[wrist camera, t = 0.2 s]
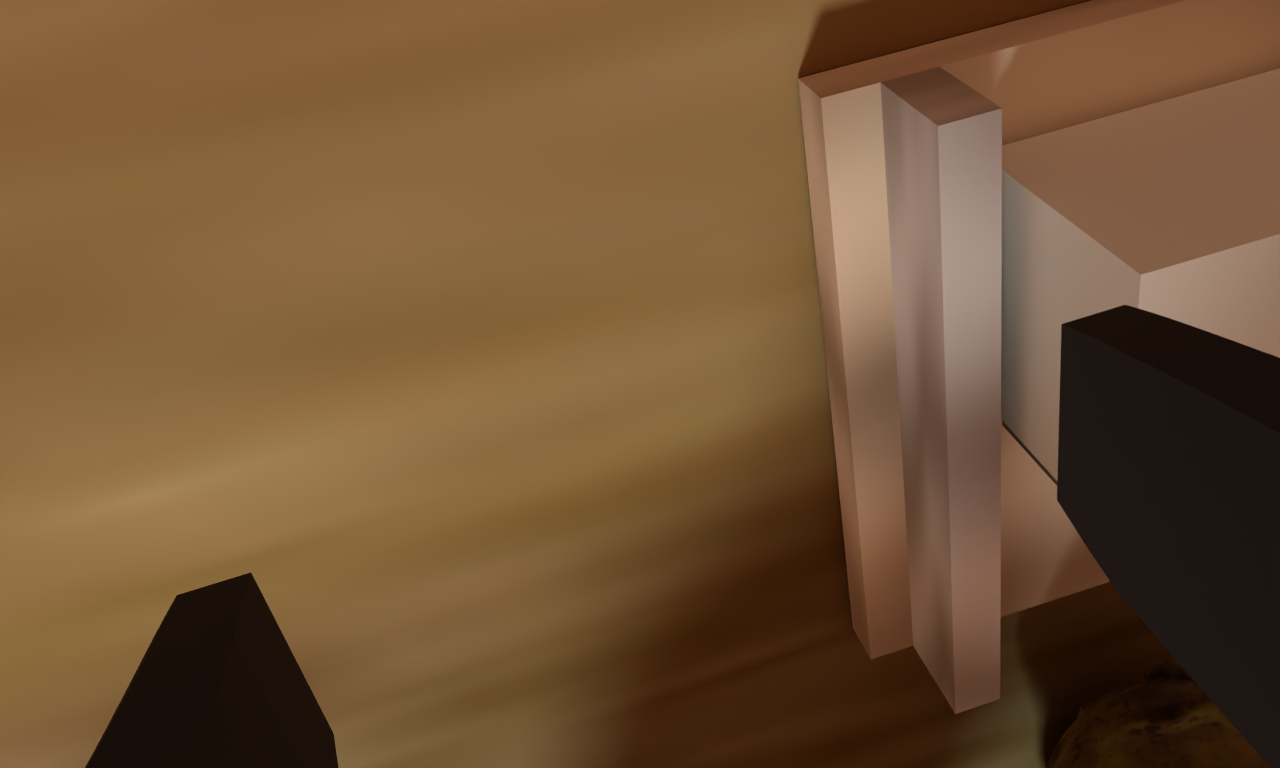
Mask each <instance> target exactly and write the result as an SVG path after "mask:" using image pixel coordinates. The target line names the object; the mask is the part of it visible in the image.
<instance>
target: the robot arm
mask: <svg viewBox="0 0 1280 768" xmlns="http://www.w3.org/2000/svg"><path fill="white" fill-rule="evenodd" d="M1057 501H1058V502H1059V504H1060V506H1061V507H1062V509H1063V510H1064V512H1065V513H1066V515H1067V517H1068V518H1069V520H1070V521H1071V523H1072V524H1073V526H1074V528H1075V529H1076V531H1077V532H1078V534H1079V536H1080V537H1081V539H1082V540H1083V542H1084V543H1085V545H1086V547H1087V548H1088V550H1089V551H1090V553H1091V554H1092V556H1093V557H1094V558H1095V560H1096V561H1097V563H1098V564H1099V566H1100V567H1101V569H1102V570H1103V572H1104V573H1105V575H1106V576H1107V577H1108V579H1109V580H1110V582H1111V583H1112V585H1113V586H1114V588H1115V589H1116V591H1117V592H1118V593H1119V594H1120V595H1121V596H1122V598H1123V599H1124V600H1125V601H1126V602H1127V604H1128V605H1129V606H1130V607H1131V608H1132V610H1133V611H1134V612H1135V613H1136V614H1137V615H1138V617H1139V618H1140V619H1141V620H1142V621H1143V622H1144V624H1145V625H1146V626H1147V627H1148V628H1149V629H1150V631H1151V632H1152V633H1153V634H1154V635H1155V636H1156V637H1157V639H1158V640H1159V641H1160V642H1161V643H1162V644H1163V646H1164V647H1165V648H1166V649H1167V650H1168V651H1169V653H1170V654H1171V655H1172V656H1173V657H1174V658H1175V659H1176V661H1177V662H1178V663H1179V664H1180V665H1181V666H1182V667H1183V669H1184V670H1185V671H1186V672H1187V673H1188V674H1189V675H1190V677H1191V678H1192V679H1193V680H1194V681H1195V682H1196V683H1197V684H1198V686H1199V687H1200V688H1201V689H1202V690H1203V691H1204V692H1205V694H1206V695H1207V696H1208V697H1209V698H1210V699H1211V700H1212V702H1213V703H1214V704H1215V705H1216V706H1217V707H1218V708H1219V709H1220V711H1221V712H1222V713H1223V714H1224V715H1225V716H1226V717H1227V719H1228V720H1229V721H1230V722H1231V723H1232V724H1233V725H1234V727H1235V728H1236V729H1237V730H1238V731H1239V732H1240V733H1241V735H1242V736H1243V737H1244V738H1245V739H1246V740H1247V741H1248V742H1249V744H1250V745H1251V746H1252V747H1253V748H1254V749H1255V750H1256V752H1257V753H1258V754H1259V755H1260V756H1261V757H1262V758H1263V760H1264V761H1265V762H1266V763H1267V764H1268V765H1269V766H1270V768H1280V358H1279V357H1276V356H1274V355H1271V354H1268V353H1265V352H1263V351H1260V350H1257V349H1254V348H1252V347H1249V346H1246V345H1243V344H1241V343H1238V342H1235V341H1232V340H1230V339H1227V338H1224V337H1221V336H1219V335H1216V334H1213V333H1210V332H1207V331H1205V330H1202V329H1199V328H1196V327H1193V326H1191V325H1188V324H1185V323H1182V322H1179V321H1176V320H1173V319H1170V318H1167V317H1164V316H1161V315H1158V314H1155V313H1152V312H1149V311H1145V310H1142V309H1138V308H1135V307H1132V306H1128V305H1122V306H1119V307H1116V308H1112V309H1109V310H1106V311H1103V312H1099V313H1096V314H1093V315H1090V316H1086V317H1083V318H1080V319H1077V320H1073V321H1070V322H1067V323H1063V324H1061V362H1060V401H1059V439H1058V477H1057ZM85 768H338V762H337V755H336V748H335V741H334V734H333V732H332V730H331V728H330V726H329V724H328V722H327V720H326V718H325V716H324V714H323V712H322V710H321V708H320V706H319V704H318V703H317V701H316V699H315V697H314V695H313V693H312V691H311V689H310V687H309V685H308V683H307V681H306V679H305V677H304V675H303V673H302V671H301V669H300V667H299V665H298V663H297V661H296V659H295V658H294V656H293V654H292V652H291V650H290V648H289V646H288V644H287V642H286V640H285V638H284V636H283V634H282V632H281V630H280V628H279V626H278V624H277V622H276V620H275V618H274V616H273V615H272V613H271V611H270V609H269V607H268V605H267V603H266V601H265V599H264V597H263V595H262V593H261V591H260V589H259V587H258V585H257V583H256V581H255V579H254V577H253V575H252V573H248V574H245V575H241V576H238V577H235V578H232V579H228V580H225V581H222V582H219V583H215V584H212V585H209V586H206V587H202V588H199V589H196V590H193V591H189V592H186V593H183V594H180V595H177V596H176V598H175V600H174V601H173V603H172V605H171V607H170V608H169V610H168V612H167V614H166V616H165V618H164V619H163V621H162V623H161V625H160V627H159V629H158V630H157V632H156V634H155V636H154V638H153V640H152V642H151V644H150V646H149V648H148V650H147V651H146V653H145V655H144V657H143V659H142V661H141V663H140V665H139V667H138V669H137V671H136V673H135V675H134V677H133V679H132V681H131V682H130V684H129V686H128V688H127V690H126V692H125V694H124V696H123V698H122V700H121V702H120V704H119V705H118V707H117V709H116V711H115V713H114V715H113V717H112V719H111V721H110V723H109V724H108V726H107V728H106V730H105V732H104V734H103V736H102V738H101V740H100V742H99V743H98V745H97V747H96V749H95V751H94V753H93V754H92V756H91V758H90V760H89V762H88V763H87V765H86V767H85Z"/></svg>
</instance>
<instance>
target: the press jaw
mask: <svg viewBox="0 0 1280 768" xmlns="http://www.w3.org/2000/svg"><path fill="white" fill-rule="evenodd" d="M1122 305H1128V306H1132V307H1135V308H1138V309H1142V310H1145V311H1149V312H1152V313H1155V314H1158V315H1161V316H1164V317H1167V318H1170V319H1173V320H1176V321H1179V322H1182V323H1185V324H1188V325H1191V326H1193V327H1196V328H1199V329H1202V330H1205V331H1207V332H1210V333H1213V334H1216V335H1219V336H1221V337H1224V338H1227V339H1230V340H1232V341H1235V342H1238V343H1241V344H1243V345H1246V346H1249V347H1252V348H1254V349H1257V350H1260V351H1263V352H1265V353H1268V354H1271V355H1274V356H1276V357H1279V358H1280V69H1276V70H1272V71H1269V72H1265V73H1262V74H1258V75H1254V76H1251V77H1247V78H1244V79H1240V80H1236V81H1233V82H1229V83H1226V84H1222V85H1218V86H1215V87H1211V88H1208V89H1204V90H1200V91H1197V92H1193V93H1190V94H1186V95H1182V96H1179V97H1175V98H1172V99H1168V100H1165V101H1161V102H1157V103H1154V104H1150V105H1147V106H1143V107H1139V108H1136V109H1132V110H1129V111H1125V112H1121V113H1118V114H1114V115H1111V116H1107V117H1103V118H1100V119H1096V120H1093V121H1089V122H1085V123H1082V124H1078V125H1075V126H1071V127H1067V128H1064V129H1060V130H1057V131H1053V132H1049V133H1046V134H1042V135H1039V136H1035V137H1032V138H1028V139H1024V140H1021V141H1017V142H1014V143H1010V144H1006V145H1003V146H1002V281H1001V420H1002V425H1003V426H1004V428H1005V429H1006V430H1007V431H1008V432H1009V433H1010V434H1011V435H1012V436H1013V438H1014V439H1015V440H1016V441H1017V442H1018V443H1019V444H1020V445H1021V446H1022V448H1023V449H1024V450H1025V451H1026V452H1027V453H1028V454H1029V455H1030V456H1031V458H1032V459H1033V460H1034V461H1035V462H1036V463H1037V464H1038V465H1039V466H1040V468H1041V469H1042V470H1043V471H1044V472H1045V473H1046V474H1047V475H1048V476H1049V477H1050V479H1051V480H1052V481H1053V482H1054V483H1055V484H1056V485H1057V477H1058V439H1059V401H1060V362H1061V324H1063V323H1067V322H1070V321H1073V320H1077V319H1080V318H1083V317H1086V316H1090V315H1093V314H1096V313H1099V312H1103V311H1106V310H1109V309H1112V308H1116V307H1119V306H1122Z"/></svg>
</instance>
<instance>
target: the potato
mask: <svg viewBox="0 0 1280 768" xmlns="http://www.w3.org/2000/svg"><path fill="white" fill-rule="evenodd" d="M1144 679H1148V680H1147V681H1145V682H1144V683H1142V684H1140V685H1136V686H1132V685H1127V686H1124V687H1121V688H1118V689H1116V690H1113V691H1111V692H1108V693H1106V694H1103V695H1100V696H1098V697H1096V698H1094V699H1092V700H1091V701H1089V702H1088V703H1086V704H1084V705H1082V706H1080V711H1079V712H1078V714H1077V719H1076V720H1075V721H1074V723H1073V724H1072V725H1071V726H1070V727H1069V728H1068V729H1067V730H1066V731H1065V733H1064V734H1063V736H1062V737H1061V739H1060V740H1059V742H1058V743H1057V745H1056V747H1055V748H1054V750H1053V752H1052V755H1051V757H1050V759H1049V761H1048V763H1047V765H1046V768H1270V766H1269V765H1268V764H1267V763H1266V762H1265V761H1264V760H1263V758H1262V757H1261V756H1260V755H1259V754H1258V753H1257V752H1256V750H1255V749H1254V748H1253V747H1252V746H1251V745H1250V744H1249V742H1248V741H1247V740H1246V739H1245V738H1244V737H1243V736H1242V735H1241V733H1240V732H1239V731H1238V730H1237V729H1236V728H1235V727H1234V725H1233V724H1232V723H1231V722H1230V721H1229V720H1228V719H1227V717H1226V716H1225V715H1224V714H1223V713H1222V712H1221V711H1220V709H1219V708H1218V707H1217V706H1216V705H1215V704H1214V703H1213V702H1212V700H1211V699H1210V698H1209V697H1208V696H1207V695H1206V694H1205V692H1204V691H1203V690H1202V689H1201V688H1200V687H1199V686H1198V684H1197V683H1196V682H1195V681H1194V680H1193V679H1192V678H1191V677H1190V675H1189V674H1188V673H1187V672H1186V671H1185V670H1184V669H1183V667H1182V666H1181V665H1180V664H1179V663H1178V662H1177V661H1176V659H1175V658H1174V657H1172V658H1170V659H1168V660H1167V661H1166V662H1165V663H1164V664H1161V665H1159V666H1157V667H1153V668H1150V669H1149V670H1148V671H1147V672H1145V674H1144Z"/></svg>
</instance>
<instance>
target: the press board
mask: <svg viewBox="0 0 1280 768" xmlns="http://www.w3.org/2000/svg"><path fill="white" fill-rule="evenodd" d="M1276 69H1280V0H1091V1H1088V2H1084V3H1080V4H1076V5H1073V6H1069V7H1065V8H1061V9H1057V10H1054V11H1050V12H1046V13H1042V14H1039V15H1035V16H1031V17H1027V18H1024V19H1020V20H1016V21H1012V22H1009V23H1005V24H1001V25H997V26H994V27H990V28H986V29H982V30H979V31H975V32H971V33H967V34H963V35H960V36H956V37H952V38H948V39H945V40H941V41H937V42H933V43H930V44H926V45H922V46H918V47H915V48H911V49H907V50H903V51H900V52H896V53H892V54H888V55H885V56H881V57H877V58H873V59H869V60H866V61H862V62H858V63H854V64H851V65H847V66H843V67H839V68H836V69H832V70H828V71H824V72H821V73H817V74H813V75H809V76H806V77H802V78H798V82H799V92H800V102H801V112H802V123H803V133H804V143H805V153H806V163H807V173H808V183H809V193H810V203H811V213H812V223H813V233H814V243H815V253H816V264H817V274H818V284H819V294H820V304H821V314H822V324H823V334H824V344H825V354H826V364H827V374H828V384H829V394H830V405H831V415H832V425H833V435H834V445H835V455H836V465H837V475H838V485H839V495H840V505H841V515H842V525H843V535H844V546H845V556H846V566H847V576H848V586H849V596H850V606H851V616H852V626H853V629H854V631H855V633H856V635H857V636H858V638H859V640H860V642H861V644H862V645H863V647H864V649H865V651H866V652H867V654H868V656H869V658H870V659H874V658H877V657H880V656H883V655H886V654H889V653H893V652H896V651H899V650H902V649H905V648H908V647H911V646H914V648H915V650H916V651H917V653H918V654H919V656H920V658H921V659H922V661H923V662H924V664H925V666H926V667H927V669H928V671H929V672H930V674H931V675H932V677H933V679H934V680H935V682H936V683H937V685H938V687H939V688H940V690H941V692H942V693H943V695H944V696H945V698H946V700H947V701H948V703H949V704H950V706H951V708H952V709H953V711H954V713H955V714H957V713H960V712H963V711H966V710H969V709H972V708H975V707H978V706H981V705H984V704H987V703H990V702H993V701H996V700H999V699H1000V617H1003V616H1006V615H1009V614H1012V613H1015V612H1018V611H1022V610H1025V609H1028V608H1031V607H1034V606H1037V605H1040V604H1043V603H1046V602H1049V601H1052V600H1055V599H1058V598H1061V597H1065V596H1068V595H1071V594H1074V593H1077V592H1080V591H1083V590H1086V589H1089V588H1092V587H1095V586H1098V585H1101V584H1104V583H1108V582H1110V580H1109V579H1108V577H1107V576H1106V575H1105V573H1104V572H1103V570H1102V569H1101V567H1100V566H1099V564H1098V563H1097V561H1096V560H1095V558H1094V557H1093V556H1092V554H1091V553H1090V551H1089V550H1088V548H1087V547H1086V545H1085V543H1084V542H1083V540H1082V539H1081V537H1080V536H1079V534H1078V532H1077V531H1076V529H1075V528H1074V526H1073V524H1072V523H1071V521H1070V520H1069V518H1068V517H1067V515H1066V513H1065V512H1064V510H1063V509H1062V507H1061V506H1060V504H1059V502H1058V501H1057V485H1056V484H1055V483H1054V482H1053V481H1052V480H1051V479H1050V477H1049V476H1048V475H1047V474H1046V473H1045V472H1044V471H1043V470H1042V469H1041V468H1040V466H1039V465H1038V464H1037V463H1036V462H1035V461H1034V460H1033V459H1032V458H1031V456H1030V455H1029V454H1028V453H1027V452H1026V451H1025V450H1024V449H1023V448H1022V446H1021V445H1020V444H1019V443H1018V442H1017V441H1016V440H1015V439H1014V438H1013V436H1012V435H1011V434H1010V433H1009V432H1008V431H1007V430H1006V429H1005V428H1004V426H1003V425H1002V420H1001V281H1002V146H1003V145H1006V144H1010V143H1014V142H1017V141H1021V140H1024V139H1028V138H1032V137H1035V136H1039V135H1042V134H1046V133H1049V132H1053V131H1057V130H1060V129H1064V128H1067V127H1071V126H1075V125H1078V124H1082V123H1085V122H1089V121H1093V120H1096V119H1100V118H1103V117H1107V116H1111V115H1114V114H1118V113H1121V112H1125V111H1129V110H1132V109H1136V108H1139V107H1143V106H1147V105H1150V104H1154V103H1157V102H1161V101H1165V100H1168V99H1172V98H1175V97H1179V96H1182V95H1186V94H1190V93H1193V92H1197V91H1200V90H1204V89H1208V88H1211V87H1215V86H1218V85H1222V84H1226V83H1229V82H1233V81H1236V80H1240V79H1244V78H1247V77H1251V76H1254V75H1258V74H1262V73H1265V72H1269V71H1272V70H1276Z"/></svg>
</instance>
